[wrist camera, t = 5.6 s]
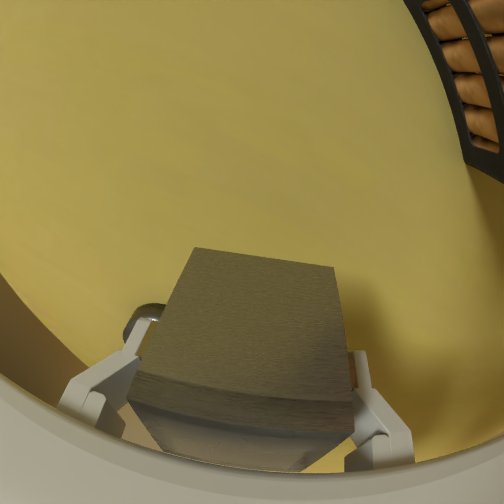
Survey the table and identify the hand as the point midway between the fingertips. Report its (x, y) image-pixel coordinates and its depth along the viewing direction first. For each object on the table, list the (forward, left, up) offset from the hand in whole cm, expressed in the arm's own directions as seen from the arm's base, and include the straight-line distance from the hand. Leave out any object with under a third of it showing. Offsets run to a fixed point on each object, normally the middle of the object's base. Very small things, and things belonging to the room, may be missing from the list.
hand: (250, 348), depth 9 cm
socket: (0, 0, -2) cm, 2 cm away
